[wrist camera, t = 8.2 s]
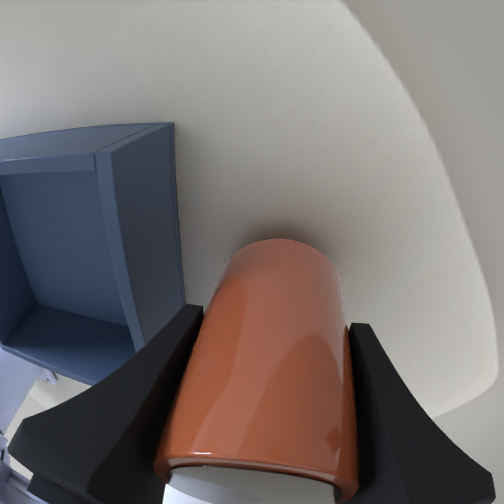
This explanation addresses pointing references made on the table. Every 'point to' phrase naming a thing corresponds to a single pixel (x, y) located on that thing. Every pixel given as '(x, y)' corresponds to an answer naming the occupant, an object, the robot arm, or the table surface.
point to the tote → (88, 245)
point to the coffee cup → (267, 387)
